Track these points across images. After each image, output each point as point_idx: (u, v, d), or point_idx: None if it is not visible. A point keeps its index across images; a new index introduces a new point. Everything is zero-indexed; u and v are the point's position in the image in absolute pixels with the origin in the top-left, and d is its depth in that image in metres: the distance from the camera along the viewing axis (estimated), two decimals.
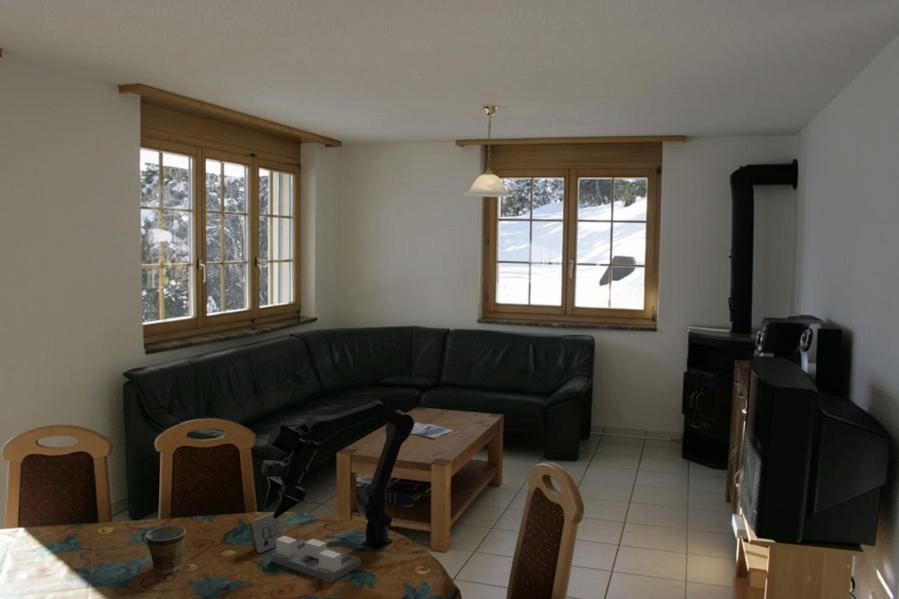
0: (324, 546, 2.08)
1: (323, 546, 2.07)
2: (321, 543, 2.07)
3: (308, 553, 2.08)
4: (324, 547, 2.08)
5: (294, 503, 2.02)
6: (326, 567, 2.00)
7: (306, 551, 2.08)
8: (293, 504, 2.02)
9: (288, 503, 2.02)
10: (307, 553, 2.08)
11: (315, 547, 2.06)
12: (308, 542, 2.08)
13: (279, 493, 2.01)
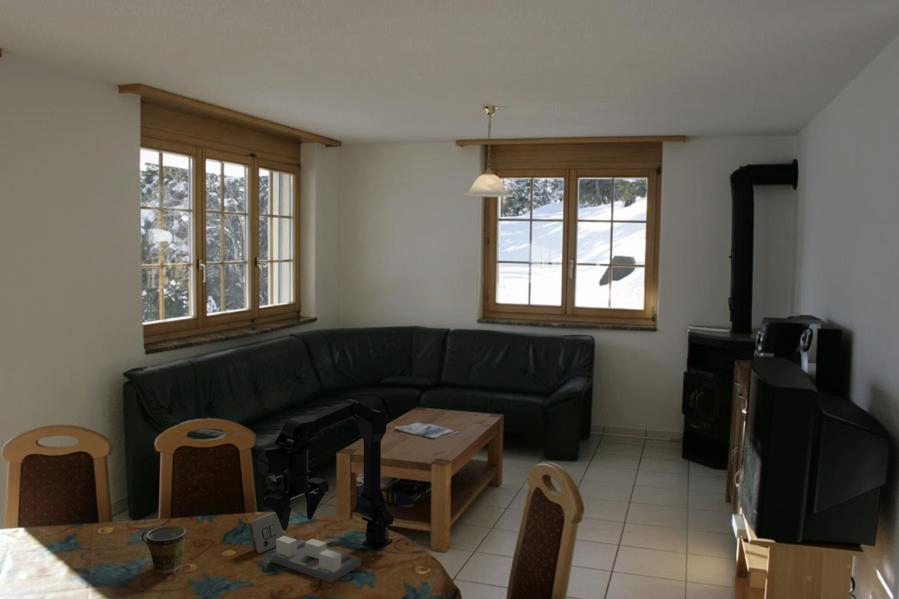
0: (324, 546, 2.08)
1: (323, 546, 2.07)
2: (321, 543, 2.07)
3: (308, 553, 2.08)
4: (324, 547, 2.08)
5: (284, 512, 1.95)
6: (326, 567, 2.00)
7: (306, 551, 2.08)
8: (285, 514, 1.95)
9: None
10: (307, 553, 2.08)
11: (315, 547, 2.06)
12: (308, 542, 2.08)
13: None
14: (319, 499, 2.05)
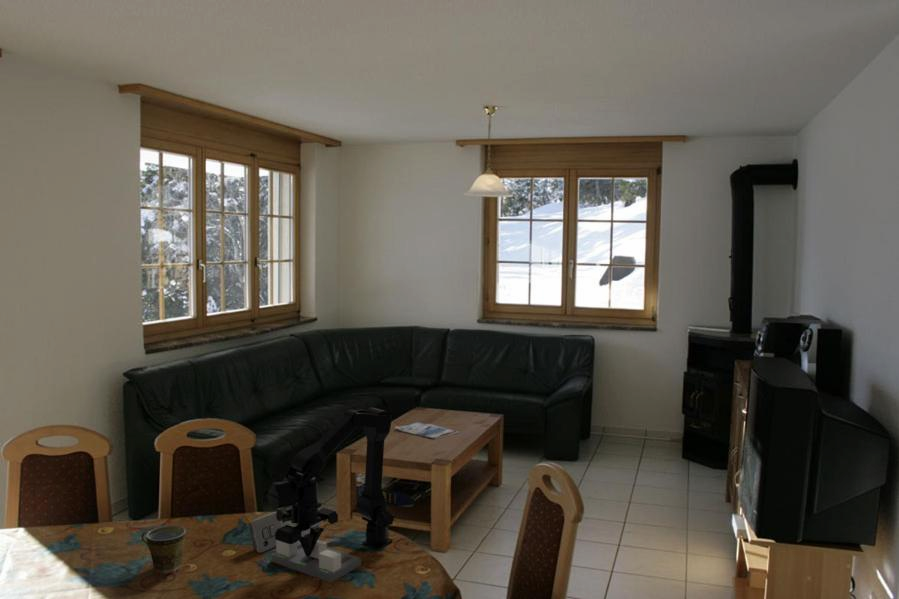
0: (324, 546, 2.08)
1: (323, 545, 2.07)
2: (321, 543, 2.07)
3: None
4: (324, 547, 2.08)
5: (307, 539, 2.02)
6: (326, 567, 2.00)
7: None
8: (307, 540, 2.02)
9: (306, 540, 2.04)
10: None
11: (315, 547, 2.06)
12: None
13: None
14: (318, 535, 2.05)
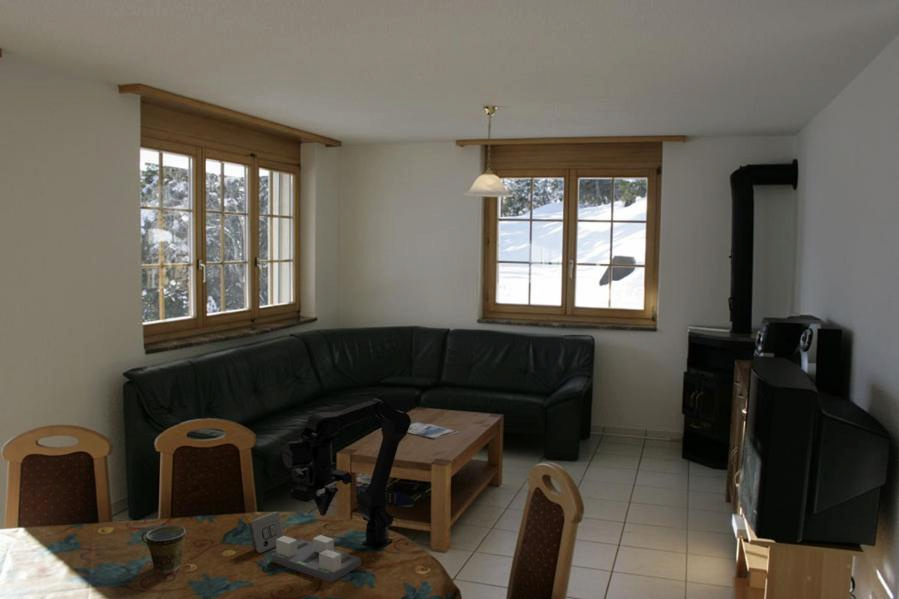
0: (332, 542, 2.10)
1: (331, 542, 2.10)
2: (329, 540, 2.10)
3: (316, 549, 2.10)
4: (332, 543, 2.10)
5: (322, 498, 2.06)
6: (326, 567, 2.00)
7: (314, 547, 2.11)
8: (322, 499, 2.06)
9: (321, 499, 2.08)
10: (315, 549, 2.11)
11: (323, 543, 2.09)
12: (316, 538, 2.11)
13: None
14: (332, 495, 2.09)
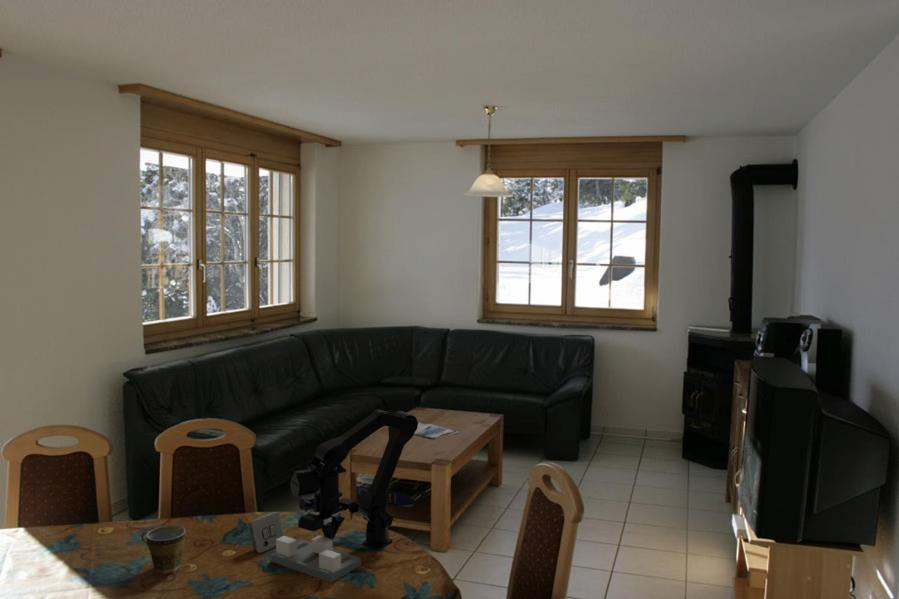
0: (330, 543, 2.10)
1: (329, 542, 2.09)
2: (327, 540, 2.09)
3: (315, 550, 2.10)
4: (330, 544, 2.10)
5: (329, 527, 2.09)
6: (326, 567, 2.00)
7: (313, 547, 2.10)
8: (329, 528, 2.10)
9: (327, 528, 2.11)
10: (314, 550, 2.10)
11: (322, 544, 2.08)
12: (315, 539, 2.10)
13: None
14: (339, 524, 2.12)
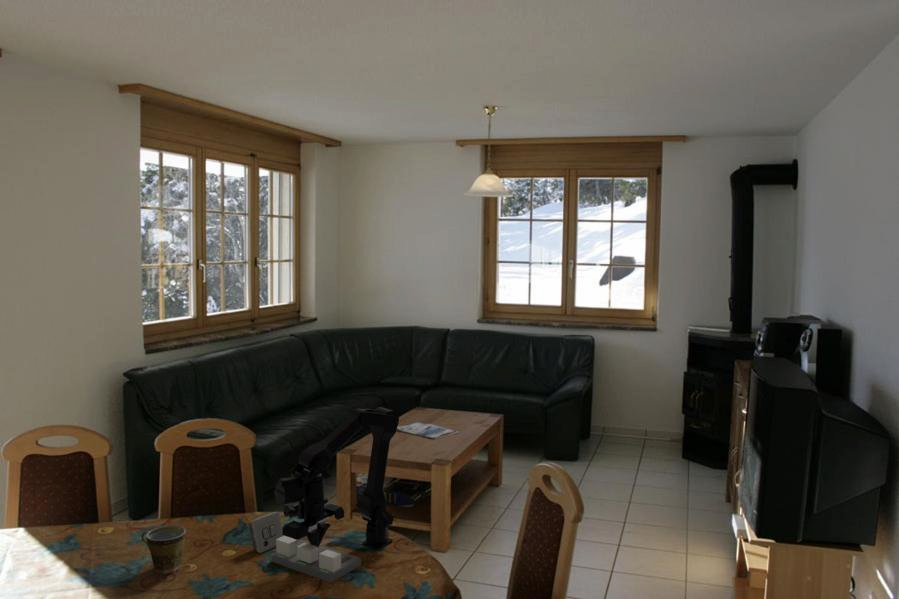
0: (316, 550, 2.05)
1: (315, 550, 2.05)
2: (313, 548, 2.05)
3: (300, 557, 2.05)
4: (316, 551, 2.05)
5: (314, 535, 2.05)
6: (326, 567, 2.00)
7: (298, 555, 2.06)
8: (314, 536, 2.05)
9: (313, 535, 2.06)
10: (299, 557, 2.05)
11: (307, 551, 2.04)
12: (300, 546, 2.06)
13: None
14: (324, 531, 2.07)
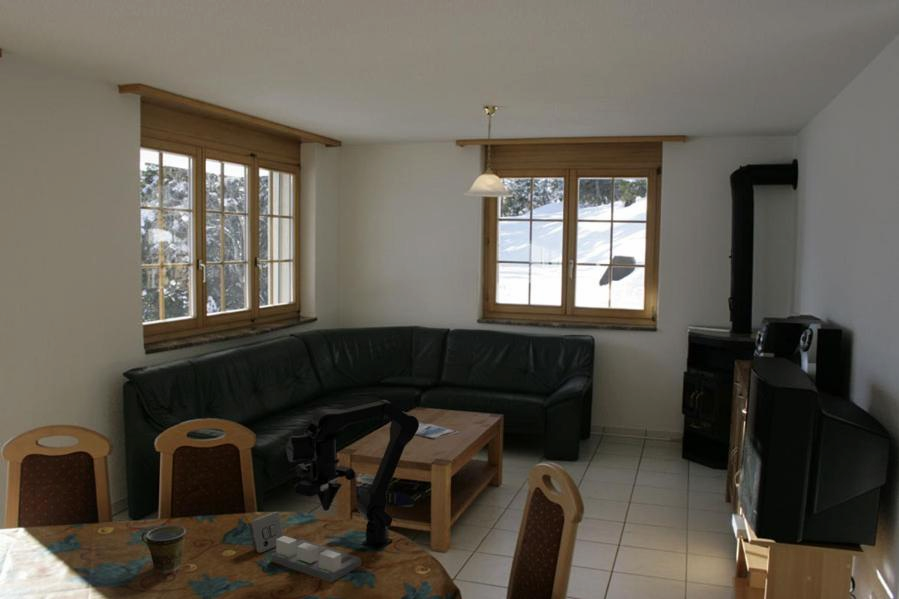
0: (316, 550, 2.05)
1: (315, 550, 2.05)
2: (313, 547, 2.05)
3: (300, 557, 2.05)
4: (316, 551, 2.05)
5: (326, 493, 2.09)
6: (326, 567, 2.00)
7: (298, 555, 2.06)
8: (326, 495, 2.10)
9: (324, 494, 2.11)
10: (299, 557, 2.06)
11: (307, 551, 2.04)
12: (300, 546, 2.06)
13: None
14: (336, 490, 2.12)
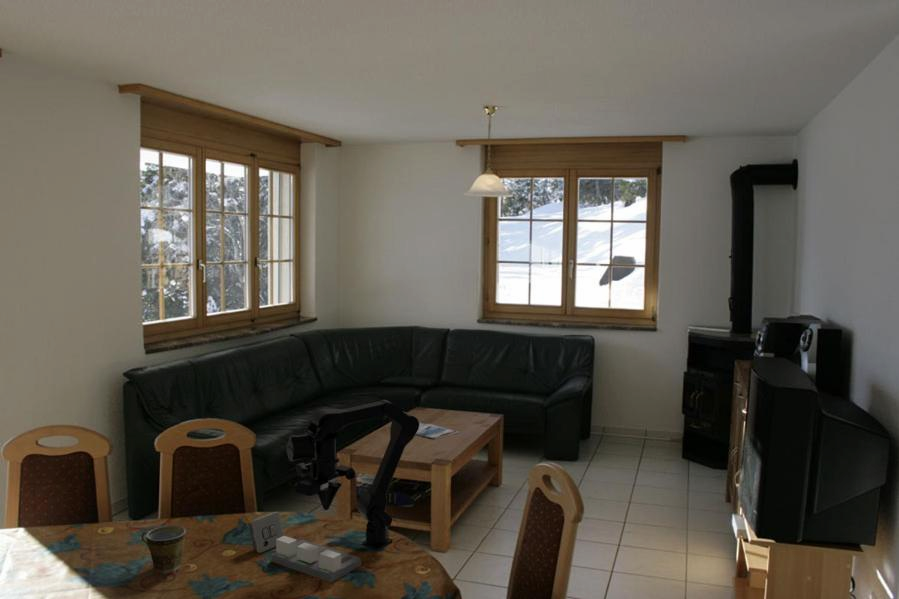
0: (316, 550, 2.05)
1: (315, 550, 2.05)
2: (313, 547, 2.05)
3: (300, 557, 2.05)
4: (316, 551, 2.05)
5: (326, 493, 2.10)
6: (326, 567, 2.00)
7: (298, 555, 2.06)
8: (326, 494, 2.10)
9: (324, 494, 2.11)
10: (299, 557, 2.06)
11: (307, 551, 2.04)
12: (300, 546, 2.06)
13: None
14: (336, 490, 2.12)
